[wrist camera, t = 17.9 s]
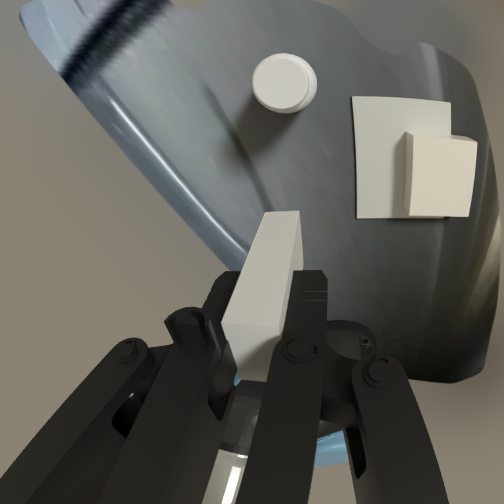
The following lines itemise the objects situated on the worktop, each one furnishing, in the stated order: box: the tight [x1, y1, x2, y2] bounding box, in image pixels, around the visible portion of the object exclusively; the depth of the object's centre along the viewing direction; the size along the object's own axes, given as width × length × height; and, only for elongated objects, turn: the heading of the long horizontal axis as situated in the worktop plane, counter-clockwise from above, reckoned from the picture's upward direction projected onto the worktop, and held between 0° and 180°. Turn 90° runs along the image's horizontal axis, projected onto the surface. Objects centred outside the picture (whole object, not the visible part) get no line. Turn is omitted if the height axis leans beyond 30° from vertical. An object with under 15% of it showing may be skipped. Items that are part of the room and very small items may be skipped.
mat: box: [352, 96, 451, 218], centre depth 31 cm, size 16×13×1 cm
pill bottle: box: [252, 53, 317, 113], centre depth 25 cm, size 6×6×11 cm
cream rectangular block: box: [403, 131, 477, 217], centre depth 29 cm, size 10×3×9 cm
